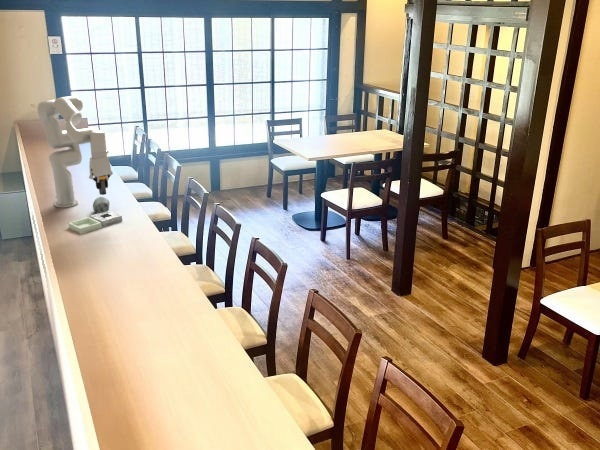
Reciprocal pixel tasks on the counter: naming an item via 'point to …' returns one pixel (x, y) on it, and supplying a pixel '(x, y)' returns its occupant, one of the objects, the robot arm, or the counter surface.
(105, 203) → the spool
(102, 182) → the pin
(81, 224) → the tray
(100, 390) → the counter surface
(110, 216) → the grey slotted block
